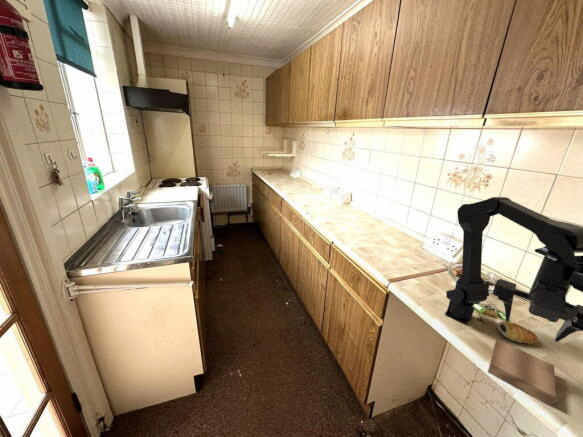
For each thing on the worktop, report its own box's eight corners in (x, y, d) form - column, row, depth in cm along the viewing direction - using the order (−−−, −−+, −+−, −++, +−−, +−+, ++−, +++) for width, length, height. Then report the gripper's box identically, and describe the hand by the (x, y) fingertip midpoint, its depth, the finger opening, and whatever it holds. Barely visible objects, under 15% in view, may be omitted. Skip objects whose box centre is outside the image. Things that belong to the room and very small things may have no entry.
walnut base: (487, 372, 65) (491, 363, 64) (493, 346, 73) (496, 339, 72) (550, 406, 57) (555, 397, 56) (549, 373, 66) (554, 365, 65)
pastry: (527, 332, 79) (532, 323, 78) (542, 348, 73) (547, 338, 72) (494, 325, 81) (498, 316, 80) (505, 340, 75) (509, 330, 74)
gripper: (499, 274, 58) (480, 326, 63) (625, 314, 46) (589, 375, 51) (504, 259, 66) (487, 306, 71) (613, 290, 54) (583, 345, 59)
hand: (530, 330), depth 63 cm, fingers open, 9 cm apart
